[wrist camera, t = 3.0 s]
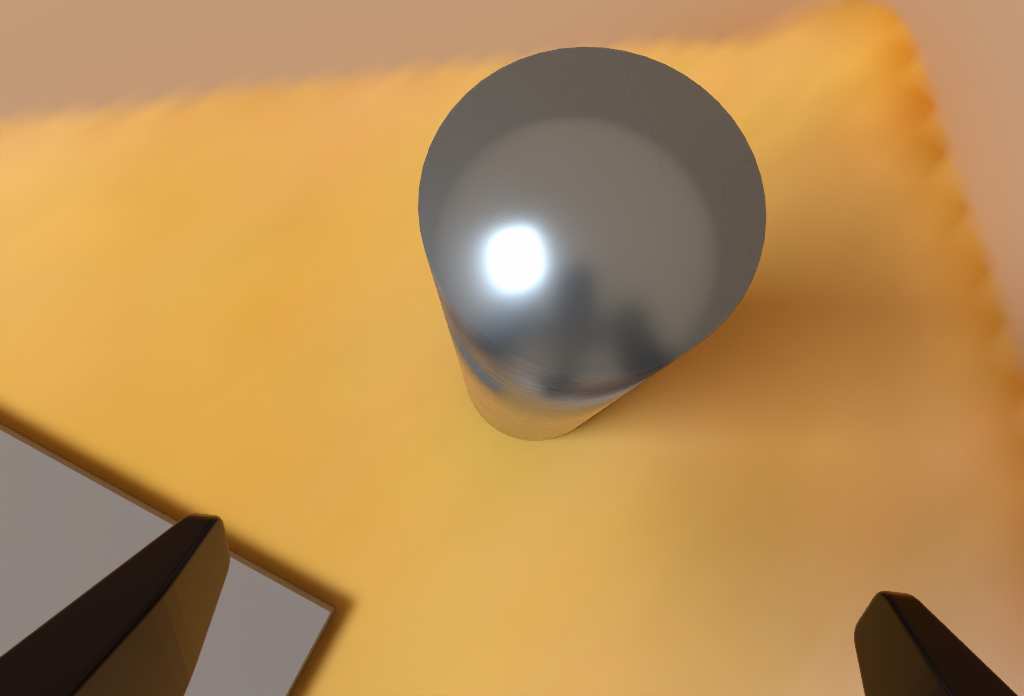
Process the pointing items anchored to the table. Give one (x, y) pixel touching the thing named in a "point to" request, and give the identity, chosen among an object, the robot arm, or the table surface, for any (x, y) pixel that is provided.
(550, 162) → the tin canister
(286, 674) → the gray mat
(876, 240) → the table surface
